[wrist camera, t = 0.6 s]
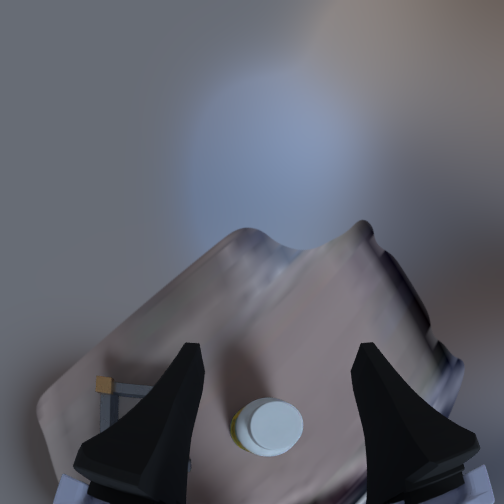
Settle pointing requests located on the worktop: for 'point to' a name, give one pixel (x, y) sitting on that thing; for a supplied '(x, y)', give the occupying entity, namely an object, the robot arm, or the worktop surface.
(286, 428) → the supplement bottle
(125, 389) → the docking mount
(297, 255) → the worktop surface
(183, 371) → the robot arm
